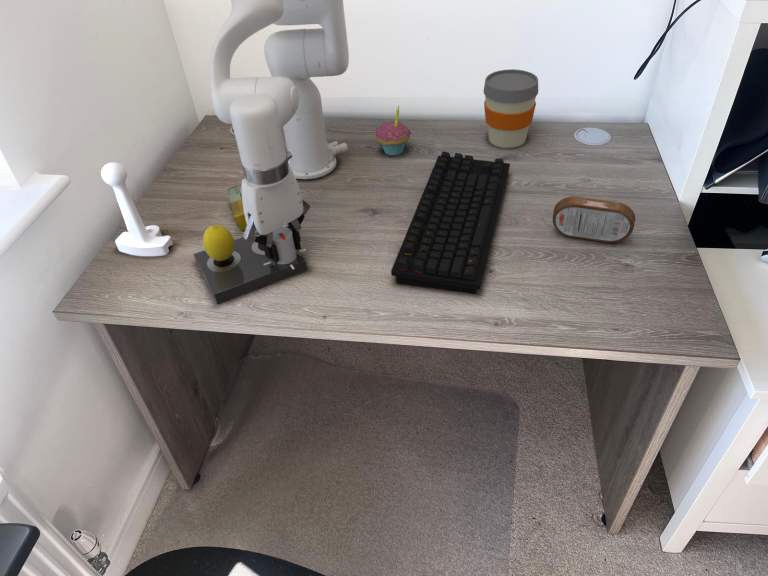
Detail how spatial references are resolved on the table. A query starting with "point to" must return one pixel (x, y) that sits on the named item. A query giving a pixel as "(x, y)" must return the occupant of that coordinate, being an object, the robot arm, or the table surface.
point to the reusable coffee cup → (509, 106)
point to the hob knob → (284, 245)
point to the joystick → (133, 219)
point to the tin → (593, 219)
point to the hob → (246, 272)
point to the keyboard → (453, 225)
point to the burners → (232, 259)
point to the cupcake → (392, 136)
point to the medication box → (237, 207)
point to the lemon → (218, 242)
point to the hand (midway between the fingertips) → (284, 252)
